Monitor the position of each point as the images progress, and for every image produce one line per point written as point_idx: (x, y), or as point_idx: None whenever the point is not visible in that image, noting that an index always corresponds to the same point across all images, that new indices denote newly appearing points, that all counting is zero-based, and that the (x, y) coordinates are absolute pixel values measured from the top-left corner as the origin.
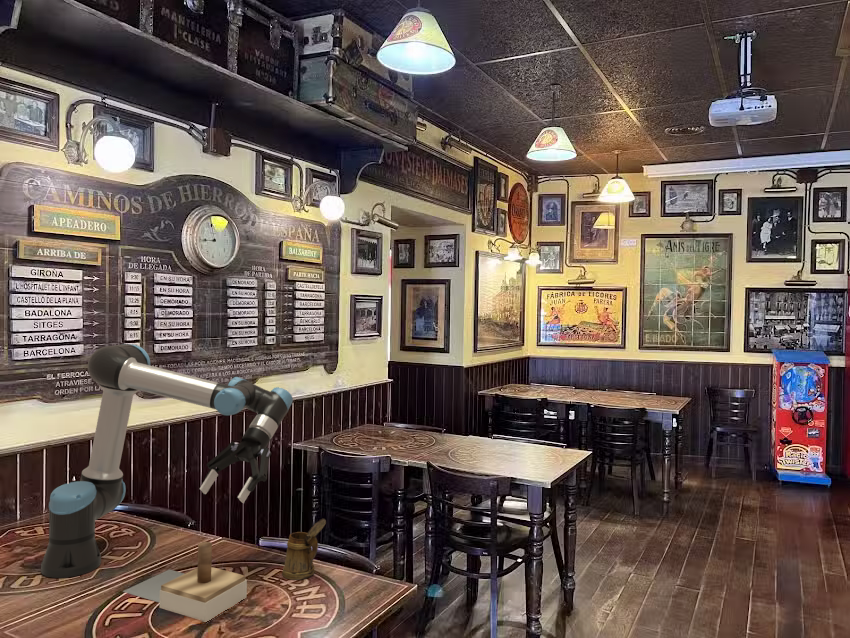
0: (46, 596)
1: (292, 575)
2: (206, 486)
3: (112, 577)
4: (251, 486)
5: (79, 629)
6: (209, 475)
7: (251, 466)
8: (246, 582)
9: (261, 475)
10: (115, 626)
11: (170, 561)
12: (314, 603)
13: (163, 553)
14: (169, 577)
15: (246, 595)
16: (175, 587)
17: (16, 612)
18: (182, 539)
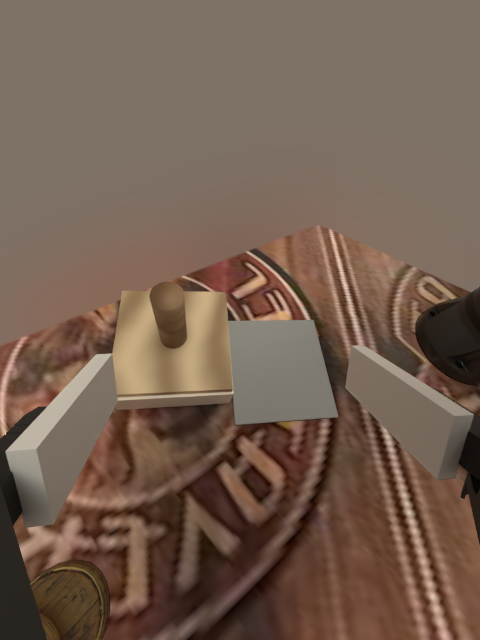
0: (373, 277)
1: (53, 568)
2: (364, 377)
3: (378, 350)
4: (22, 421)
5: (262, 247)
6: (413, 384)
7: (21, 594)
8: None
9: None
10: (234, 264)
11: (381, 456)
12: None
13: (433, 479)
14: (305, 391)
15: (115, 408)
16: (198, 296)
17: (353, 245)
18: None
